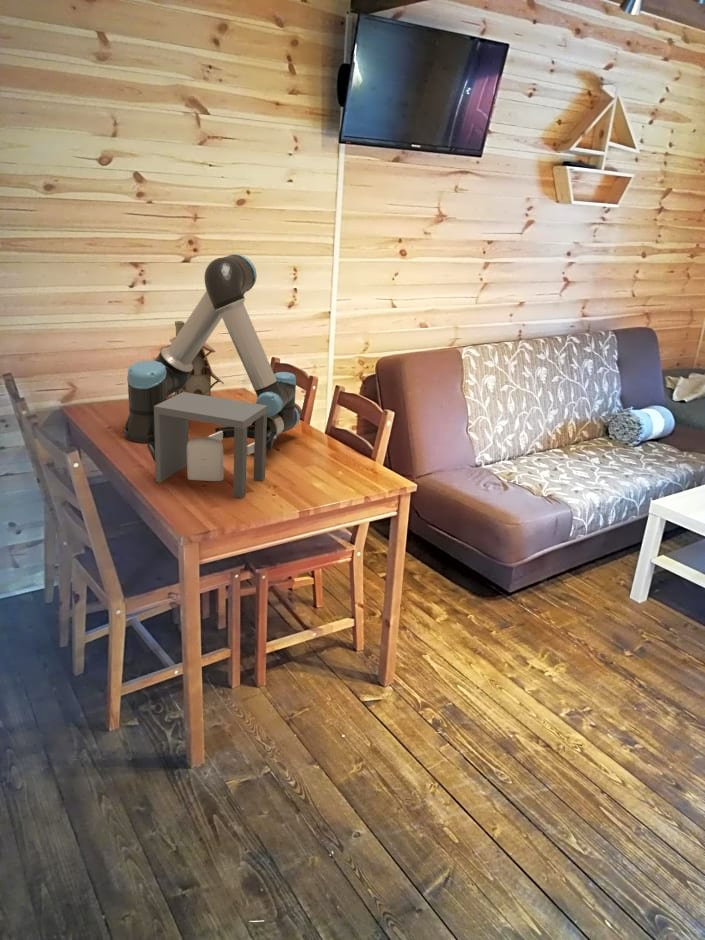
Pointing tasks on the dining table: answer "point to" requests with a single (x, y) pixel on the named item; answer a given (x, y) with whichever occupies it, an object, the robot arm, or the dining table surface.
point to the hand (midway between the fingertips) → (227, 445)
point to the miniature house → (198, 370)
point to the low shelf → (211, 410)
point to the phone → (152, 449)
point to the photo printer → (205, 459)
